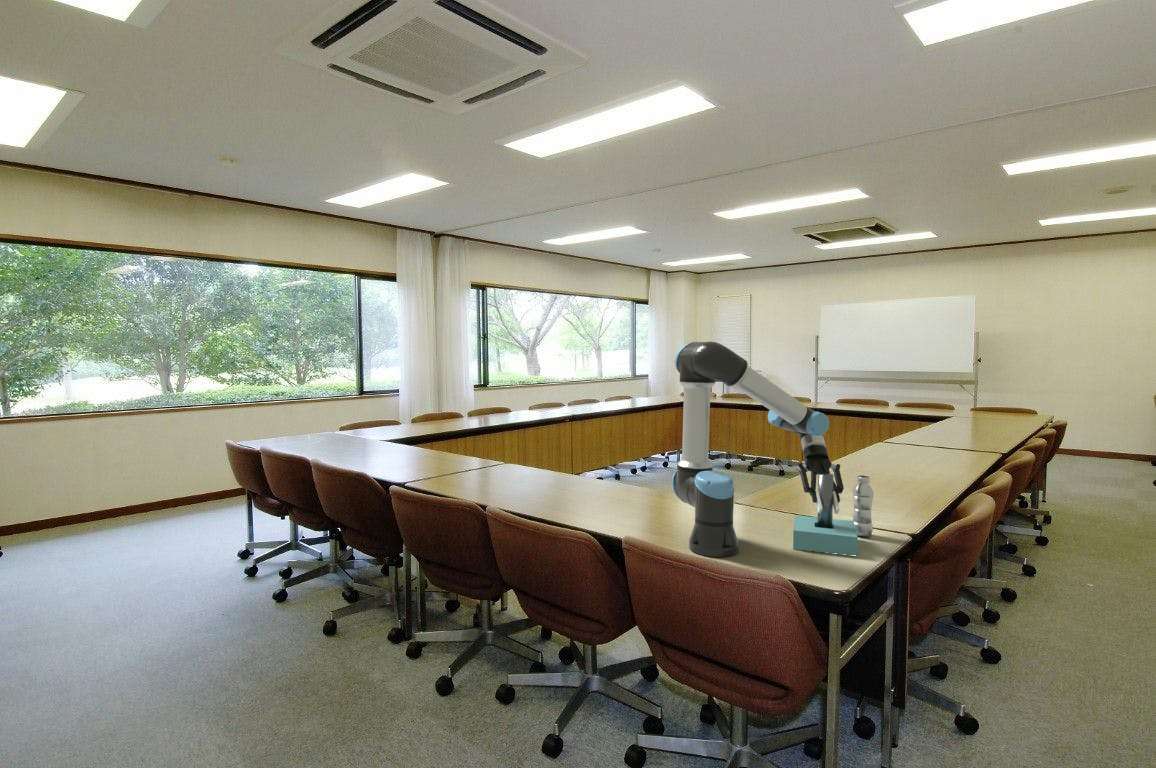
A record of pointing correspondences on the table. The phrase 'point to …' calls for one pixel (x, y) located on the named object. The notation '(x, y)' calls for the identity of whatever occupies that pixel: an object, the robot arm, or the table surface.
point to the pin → (825, 500)
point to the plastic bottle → (863, 506)
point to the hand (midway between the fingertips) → (828, 511)
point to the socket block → (825, 536)
